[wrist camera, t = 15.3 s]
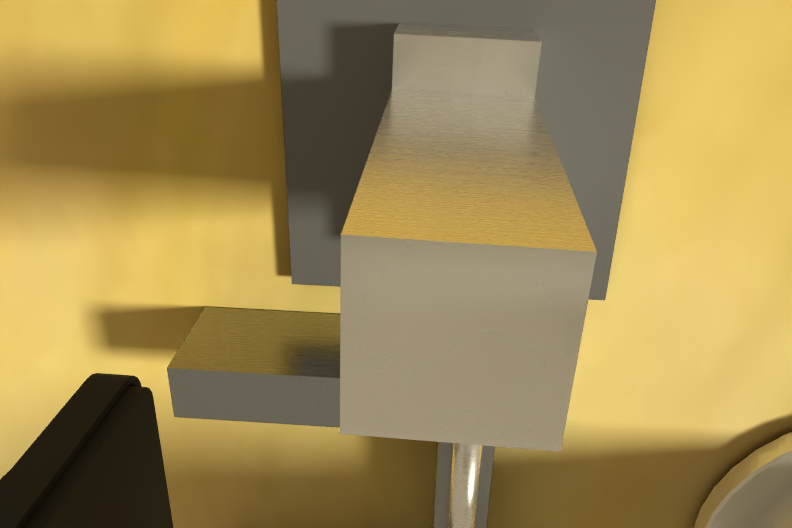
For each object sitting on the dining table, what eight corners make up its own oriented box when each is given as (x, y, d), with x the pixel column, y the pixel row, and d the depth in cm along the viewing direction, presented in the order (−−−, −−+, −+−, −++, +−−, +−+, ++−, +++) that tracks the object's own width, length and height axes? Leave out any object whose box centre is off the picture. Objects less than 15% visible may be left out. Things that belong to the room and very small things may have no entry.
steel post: (534, 30, 21) (614, 159, 10) (508, 245, 24) (549, 513, 14) (399, 23, 21) (341, 142, 11) (390, 237, 25) (339, 495, 14)
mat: (658, -45, 21) (663, -44, 20) (601, 291, 26) (605, 300, 25) (278, -54, 21) (273, -53, 21) (295, 276, 26) (291, 283, 26)
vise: (499, 322, 26) (505, 388, 23) (474, 587, 33) (476, 670, 29) (205, 306, 27) (166, 367, 24) (235, 568, 33) (209, 648, 30)
